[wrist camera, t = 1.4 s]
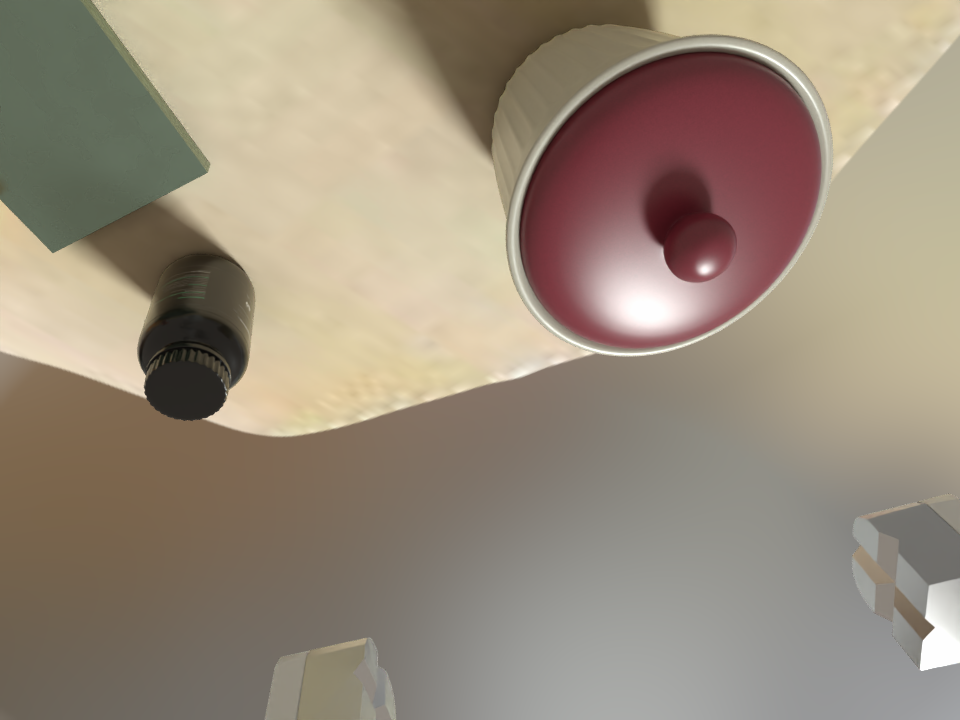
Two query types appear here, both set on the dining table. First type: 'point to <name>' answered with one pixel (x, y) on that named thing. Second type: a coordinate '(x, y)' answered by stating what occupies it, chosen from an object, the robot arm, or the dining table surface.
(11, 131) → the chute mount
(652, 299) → the canister
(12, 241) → the dining table surface
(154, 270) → the dining table surface
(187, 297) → the supplement bottle
